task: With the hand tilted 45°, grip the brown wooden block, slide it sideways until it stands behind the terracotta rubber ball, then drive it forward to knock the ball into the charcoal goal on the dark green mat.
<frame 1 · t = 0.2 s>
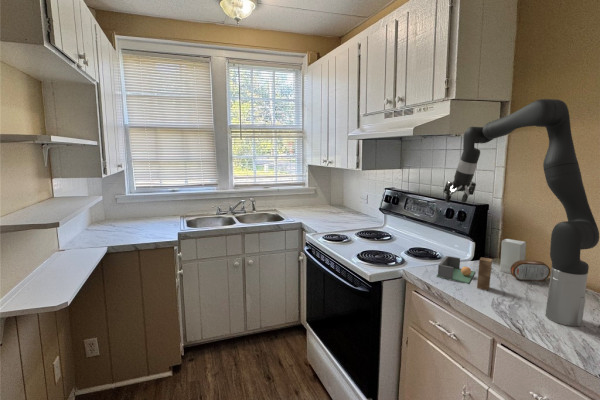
hand: (455, 202, 159), 31 cm above the worktop, tool tilted 20°, fingers open, 8 cm apart
tin: (529, 280, 144), on the worktop
brown wooden block: (483, 287, 135), on the worktop
skincare box: (511, 272, 152), on the worktop
goal: (455, 274, 150), on the worktop
ball: (466, 271, 147), point 2 cm above the worktop, touching goal
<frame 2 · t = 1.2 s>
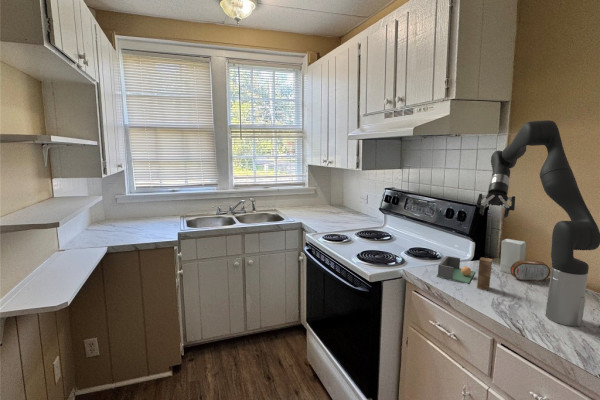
hand: (493, 215, 142), 28 cm above the worktop, tool tilted 45°, fingers open, 8 cm apart
nothing on the worktop moved.
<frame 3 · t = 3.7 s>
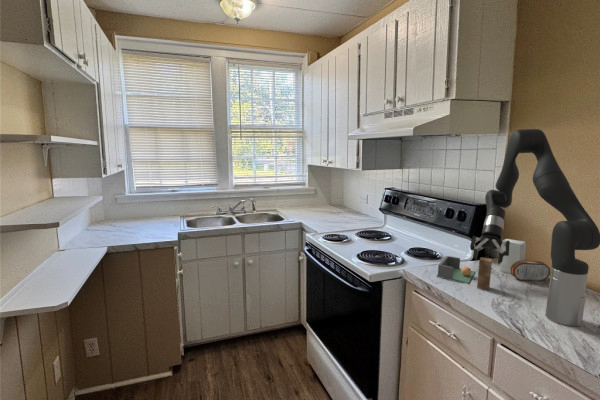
hand: (487, 260, 137), 10 cm above the worktop, tool tilted 45°, fingers open, 8 cm apart
nothing on the worktop moved.
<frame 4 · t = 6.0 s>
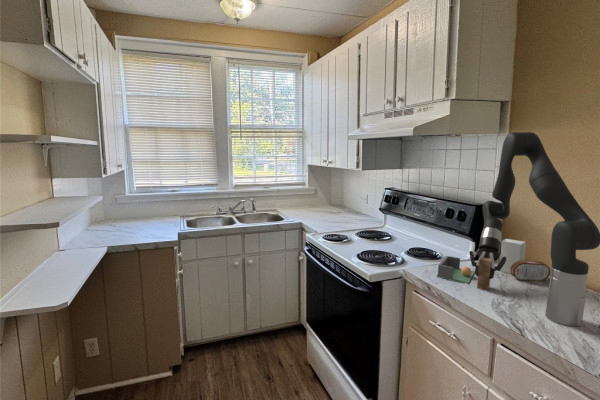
hand: (483, 276, 133), 5 cm above the worktop, tool tilted 45°, fingers closed on brown wooden block, 4 cm apart
brown wooden block: (483, 287, 135), on the worktop, touching gripper
everything else where it was.
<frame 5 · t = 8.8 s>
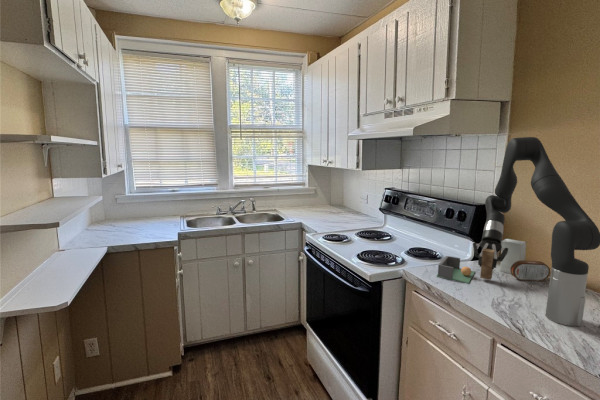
hand: (486, 266, 140), 7 cm above the worktop, tool tilted 45°, fingers closed on brown wooden block, 4 cm apart
brown wooden block: (486, 277, 143), point 1 cm above the worktop, touching gripper
everything else where it was.
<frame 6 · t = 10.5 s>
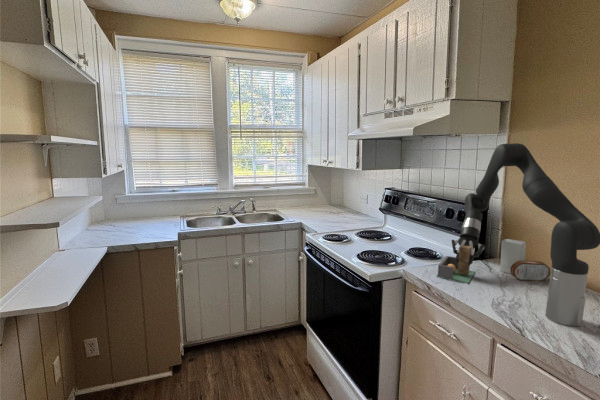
hand: (463, 262, 145), 7 cm above the worktop, tool tilted 45°, fingers closed on brown wooden block, 4 cm apart
brown wooden block: (463, 272, 148), point 1 cm above the worktop, touching gripper
ball: (450, 268, 150), point 2 cm above the worktop, tilted 177°, touching goal
everything else where it was.
when the fingers open (6 cm above the worktop, at t = 11.6 s): brown wooden block stays where it is, resting on goal.
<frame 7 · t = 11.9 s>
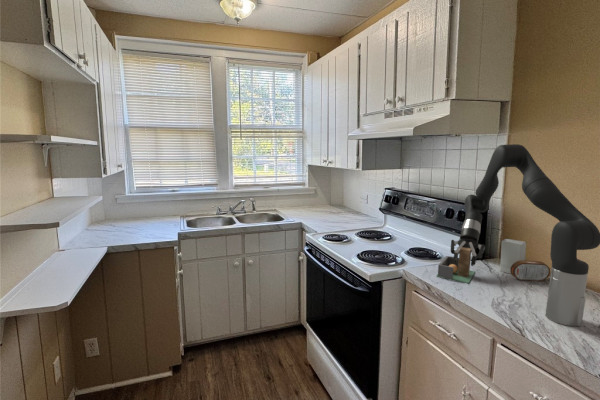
hand: (463, 263, 145), 6 cm above the worktop, tool tilted 45°, fingers open, 6 cm apart
brown wooden block: (463, 274, 148), resting on goal
ball: (452, 268, 150), point 2 cm above the worktop, tilted 153°, touching goal
everything else where it was.
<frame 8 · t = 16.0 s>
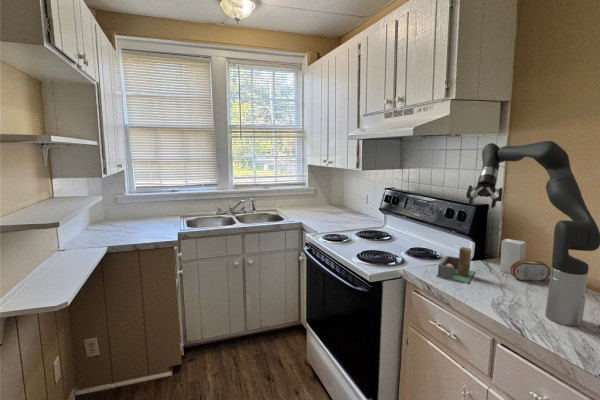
hand: (481, 206, 150), 30 cm above the worktop, tool tilted 45°, fingers open, 8 cm apart
ball: (449, 268, 150), point 2 cm above the worktop, tilted 162°, touching goal
everything else where it was.
at the end: ball inside the target area on the goal (0.5 cm from its centre), point 2.4 cm above the goal's base; brown wooden block tilted 0°; the gripper is holding nothing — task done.
